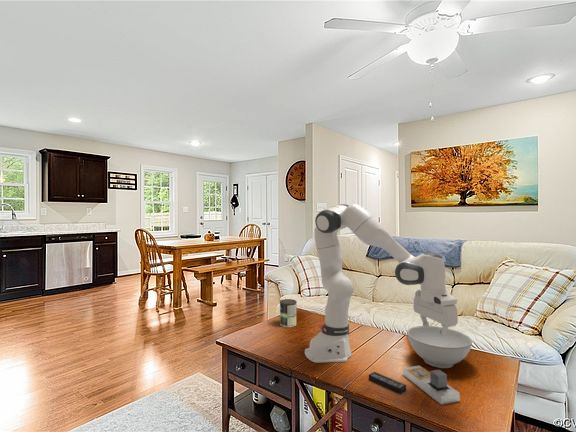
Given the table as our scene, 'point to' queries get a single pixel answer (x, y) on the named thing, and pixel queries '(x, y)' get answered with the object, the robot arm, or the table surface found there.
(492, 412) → the table surface
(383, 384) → the multiport hub
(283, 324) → the coffee can
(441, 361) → the decorative bowl
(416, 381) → the rail
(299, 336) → the table surface
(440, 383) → the square peg
